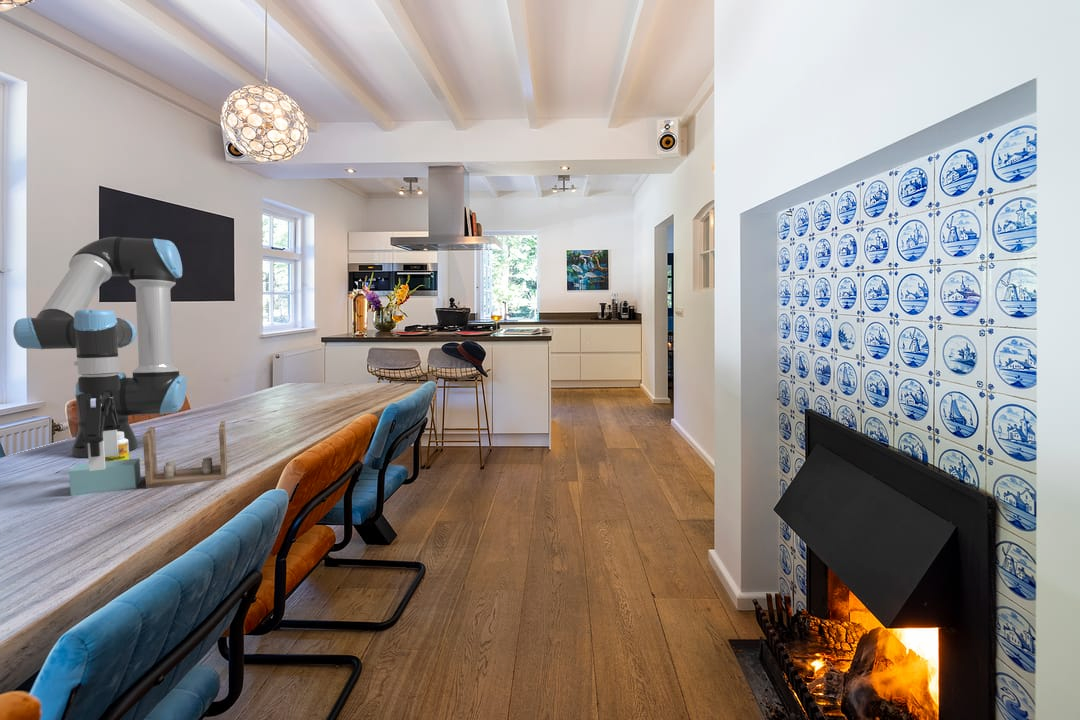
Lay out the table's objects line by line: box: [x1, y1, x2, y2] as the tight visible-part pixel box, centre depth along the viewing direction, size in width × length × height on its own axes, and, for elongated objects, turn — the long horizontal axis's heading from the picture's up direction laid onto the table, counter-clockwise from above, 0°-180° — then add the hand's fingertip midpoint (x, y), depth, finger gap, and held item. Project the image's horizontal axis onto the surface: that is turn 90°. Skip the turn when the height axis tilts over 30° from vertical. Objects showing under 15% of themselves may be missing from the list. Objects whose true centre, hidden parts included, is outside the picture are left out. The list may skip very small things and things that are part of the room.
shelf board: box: [68, 457, 142, 496], centre depth 124 cm, size 6×12×6 cm, turn 118°
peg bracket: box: [142, 420, 228, 489], centre depth 132 cm, size 10×16×13 cm, turn 119°
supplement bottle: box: [105, 431, 130, 462], centre depth 138 cm, size 6×6×10 cm
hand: (104, 462), depth 124 cm, fingers open, 13 cm apart
